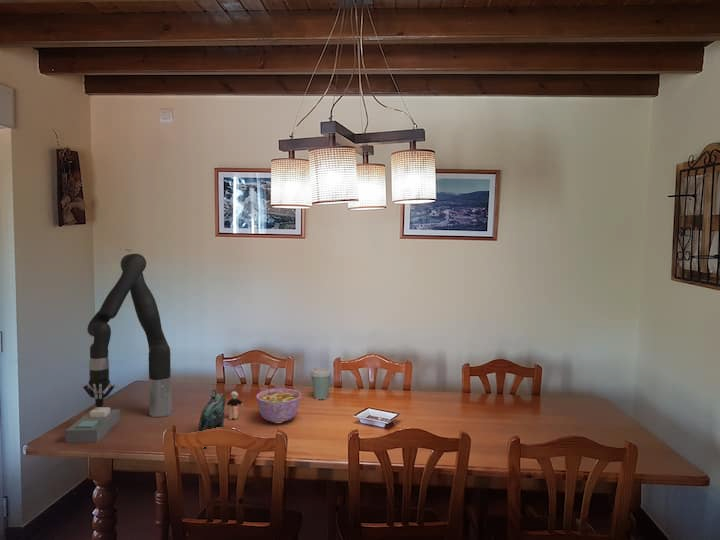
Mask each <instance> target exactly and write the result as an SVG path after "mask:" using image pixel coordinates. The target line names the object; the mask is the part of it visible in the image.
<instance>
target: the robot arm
mask: <svg viewBox="0 0 720 540" xmlns="http://www.w3.org/2000/svg"><path fill="white" fill-rule="evenodd" d="M146 267H147V260H146V258H145V257H144V256H143V255H142V254H140V253H128V254H125V255H124V256H123V257H122V258H121V261H120V268H121V271H122V272H121V275H120V277H119V279H118V280H117V282H116V283H115V285H114V286H113V288H111V289H110V291H109V293H108V294H107V296H106V297H105V298H104V300H103V303H102V304H101V307H100V308H99V310H98V311H97V312H96V313H95V315H94V316H93V317H92V318H91V320H90V321H89V322H88V325H87V331H86V332H87V333H88V335H89V336H91V337H93V343H91V345H90V347H89V363H88V367H89V369H88V370H89V380H88V383H87V384H86V385H84V386H83V389H84V391H85V392H86V393H87V394H88V396H89V397H90V398H94V399H95V401H94V402H95V407H103V406H104V404H105V403H104V400H105V398H107V397H108V396H109V394H110V393H112V391H113V390H114V389H115V388H116V385H115V384H112V383H111V380H110V360H109V345H110V340H111V336H112V335H111V334H112V330H111V327H110V325H109V322H110V321H111V320H112V319H115V318H116V316H117V315H118V313H119V311H120V309H121V307H122V305H123V303H124V302H125V299H126V298H127V296H128V294H129V292H130V295H131V300H132V303H133V307H134V310H135V313H136V317H137V319H138V322H139V324H140V326H141V327H142V328H141V329H143V331H144V333H145V337H146V340H147V345H148V391H149V392H148V397H149V399H148V404H149V406H148V407H149V411H148V413H149V416H150V417H153V418H162V417H168V416H170V415H171V413H172V412H173V391H172V390H171V382H172V381H171V348H170V345H169V343H168V341H167V339H166V337H165V333H164V331H163V328H162V322H161V317H160V312H159V308H158V305H157V302H156V299H155V297H154V295H153V293H152V291H151V290H150V289H149V286H148V285H147V283H146V281H145V277H144V273H143V272H144V271H145V269H146Z"/></svg>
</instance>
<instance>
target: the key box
mask: <svg viewBox="0 0 720 540" xmlns="http://www.w3.org/2000/svg"><path fill="white" fill-rule="evenodd" d="M92 410H93V409H91V410H89V412H87V413H85V414H84V415H83V416H82V417H80V418H79V419H78V420H77V421H76V422H75V423H73V424H72V425H70V427H68V428H67V429H65V443H67V444H68V443H73V444H74V443H76V444H77V443H78V444H80V443H99V441H100V440H101V439H102V438H103V437H104V436H106V434H108V433H109V432H110V431H111V430H112V429H113V428H114V427H115V426H116V425H117V424H118V423H119V422H120V421H121V410H120V409H117V408H116V409H110V414H108V415H107V416H106V417H90V412H91V411H92ZM83 421H99V423H98V424H97V425H96V426H95V427H93V428H77V426H78V425H79V424H80V423H81V422H83ZM114 425H115V426H114ZM113 426H114V427H113ZM112 427H113V428H112ZM111 428H112V429H111ZM110 429H111V430H110ZM109 430H110V431H109Z"/></svg>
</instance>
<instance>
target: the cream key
mask: <svg viewBox="0 0 720 540" xmlns="http://www.w3.org/2000/svg"><path fill="white" fill-rule="evenodd" d="M91 410H92V411H91ZM91 410H90V411H91V412H90V411H89V412H90V417H106V416H107V415H108V414H110V410H111V407H108V406H107V407H103V406H102V407H97V406H95V407H94V409H91Z"/></svg>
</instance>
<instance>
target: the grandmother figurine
mask: <svg viewBox="0 0 720 540" xmlns="http://www.w3.org/2000/svg"><path fill="white" fill-rule="evenodd" d="M230 396H231V398H230V399H229V400H228V402H227V403H226V404H225V409H228V408H229V414H228V415H229V417H228V419H232V418H233V420H234V419H237V418H238V419H239V405H240V406H241V408H242V407H244V405H243V402H242V400H240V399H238V397H239V393H238V392H237V391H231V393H230ZM238 419H237V420H238Z"/></svg>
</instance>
